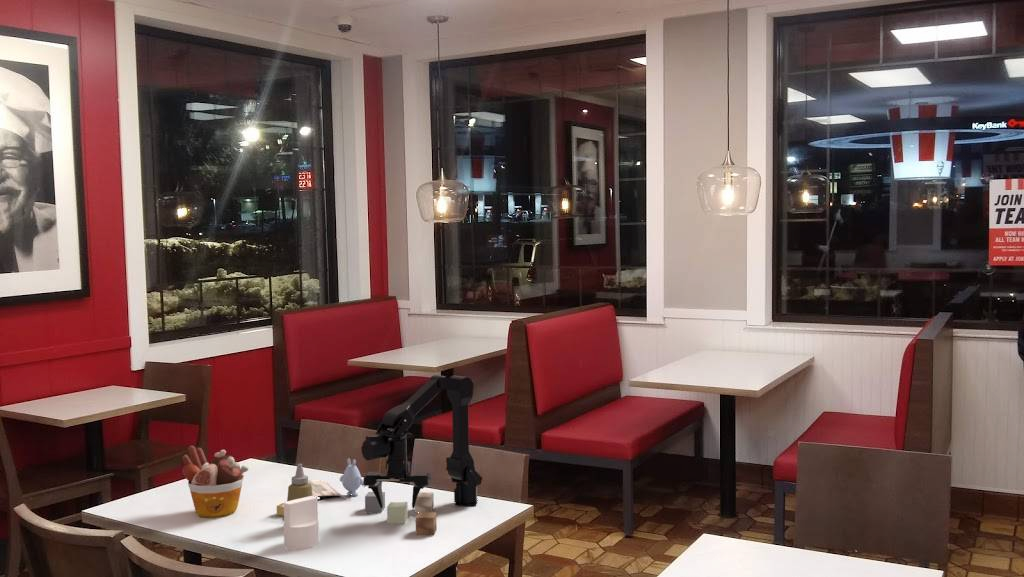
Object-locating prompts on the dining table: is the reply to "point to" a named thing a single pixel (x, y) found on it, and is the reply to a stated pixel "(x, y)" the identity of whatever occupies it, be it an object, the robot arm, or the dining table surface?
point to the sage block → (397, 513)
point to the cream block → (424, 502)
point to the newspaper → (322, 488)
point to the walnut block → (426, 523)
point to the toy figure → (351, 478)
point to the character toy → (280, 509)
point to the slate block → (373, 503)
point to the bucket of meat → (213, 482)
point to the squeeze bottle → (299, 485)
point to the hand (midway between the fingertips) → (397, 508)
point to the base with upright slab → (301, 523)
